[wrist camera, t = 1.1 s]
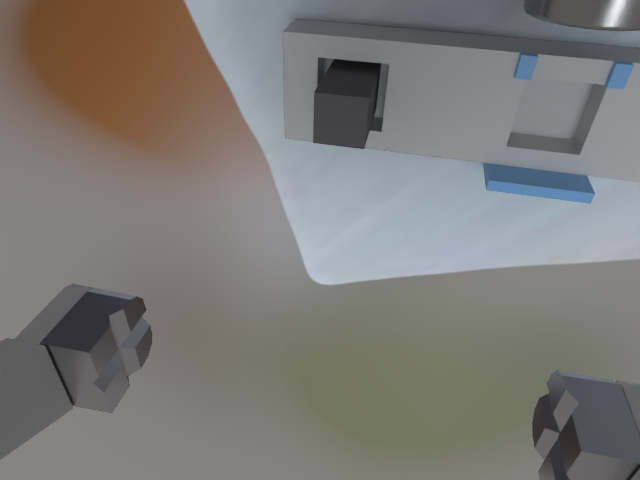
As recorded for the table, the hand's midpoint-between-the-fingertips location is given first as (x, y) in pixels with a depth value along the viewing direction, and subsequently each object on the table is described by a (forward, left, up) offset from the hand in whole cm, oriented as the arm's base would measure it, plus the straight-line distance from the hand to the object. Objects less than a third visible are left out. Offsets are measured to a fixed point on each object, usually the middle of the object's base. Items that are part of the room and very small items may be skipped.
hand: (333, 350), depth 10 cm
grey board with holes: (+5, +4, -31) cm, 32 cm away
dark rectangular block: (+5, -4, -30) cm, 30 cm away
